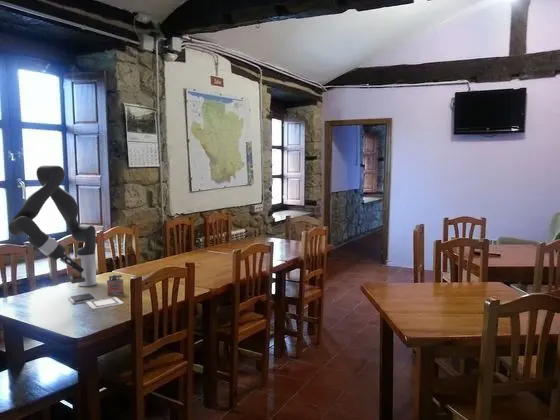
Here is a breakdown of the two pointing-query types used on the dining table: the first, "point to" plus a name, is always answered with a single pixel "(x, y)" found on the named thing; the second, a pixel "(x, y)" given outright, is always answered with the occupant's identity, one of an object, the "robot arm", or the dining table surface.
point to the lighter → (115, 285)
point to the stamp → (76, 273)
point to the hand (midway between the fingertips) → (81, 270)
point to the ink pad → (82, 298)
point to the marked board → (104, 303)
